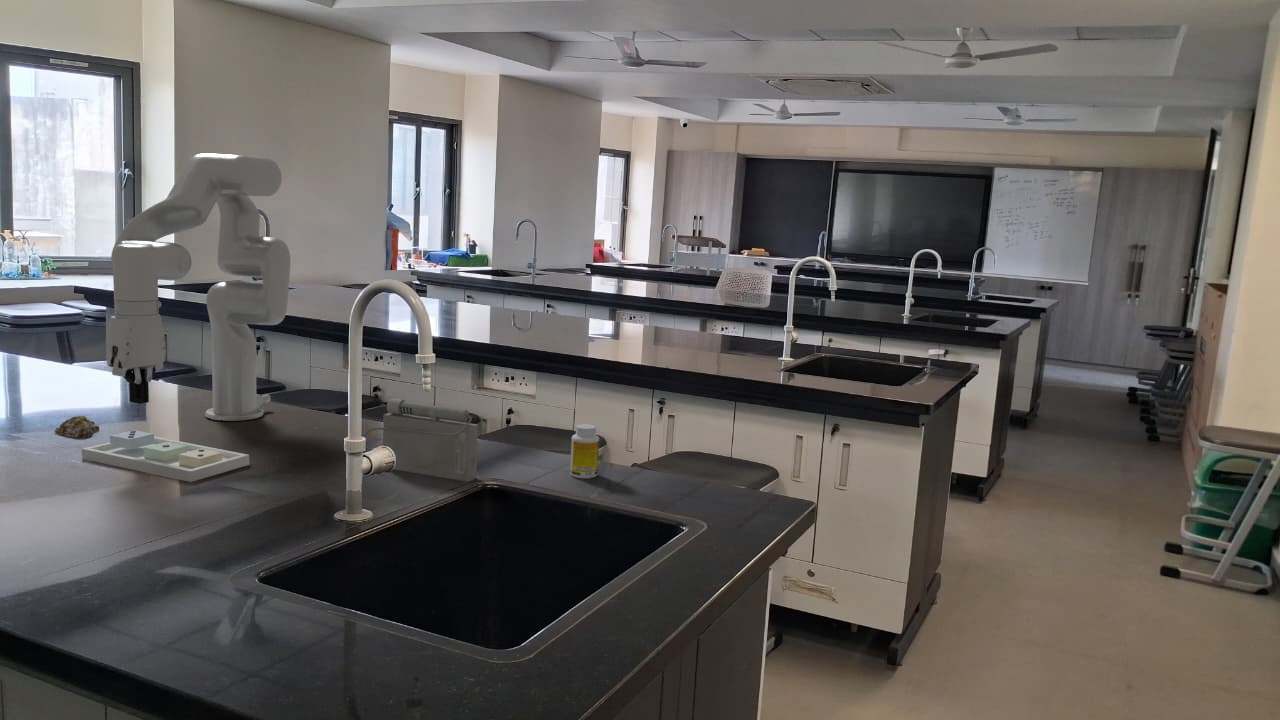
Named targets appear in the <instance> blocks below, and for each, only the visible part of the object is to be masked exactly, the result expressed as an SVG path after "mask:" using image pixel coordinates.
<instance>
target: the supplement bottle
mask: <svg viewBox="0 0 1280 720" xmlns="http://www.w3.org/2000/svg"><path fill="white" fill-rule="evenodd" d="M596 433H597V427H596V425H593V424H588V423H586V424H585V423H584V424H583V423H581V424H577V425H576V428H575V433H574V434H573V435H572V436H571V440H570V441H571V444H570V462H569V463H570V465H569V466H570V467H569V469H570V470H569V474H570V475H571V476H572V477H573V478H576V479H582V480H585V479H586V480H587V479H593V478H596V477H597V476H598V470H599V468H598V467H599V454H600V453H599V452H600V451H599V450H600V437H599V436H598V435H597V434H596Z"/></svg>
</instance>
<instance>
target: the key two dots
mask: <svg viewBox="0 0 1280 720" xmlns="http://www.w3.org/2000/svg"><path fill="white" fill-rule="evenodd" d="M222 460H223V452H218V451H213V450H208V449H203V448H201V449H197V450H193V451H189V452H185V453H181V454H179V465H184V466H188V467H193V468H197V467H201V466H205V465H208V464H212V463H215V462H219V461H222Z"/></svg>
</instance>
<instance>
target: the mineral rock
mask: <svg viewBox="0 0 1280 720" xmlns="http://www.w3.org/2000/svg"><path fill="white" fill-rule="evenodd" d="M99 430H100V425H97V424H96V423H95V422H94V421H91V420H90V419H88V417H86V416H85V415H78V416H72V417H70V418H69V419H65V421H64V422H62V423H61V424H60V425H59V427H56V428H55V429H54V433H55V434H59V436H64V437H66V438H77V439H79V438H83V439H85V438H89V437H93V436H94V433H96V432H99Z"/></svg>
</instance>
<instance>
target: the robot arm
mask: <svg viewBox="0 0 1280 720" xmlns="http://www.w3.org/2000/svg"><path fill="white" fill-rule="evenodd" d="M281 184H282V171H281V169H280V167H279V165H278V164H277V163H276V162H275V161H274V160H273V159H271V158H269V157H268V158H266V157H256V156H255V157H254V156H247V155H240V154H223V153H210V152H209V153H197V154H194V155H193V156H191V157H190V158H189V159H188V161H187V162H186V163H185V165H184V167H183V169H182V170H181V172H180V173H179V176H178V177H177V179H176V181H175V183H174V185H173V186H172V188H171V190H170V191H169V193H168V195H167V197H166V198H165V199H163V200H161V201H160V202H157V203H155V204H153V205H152V206H150V207H149V208H147V209H145V210H143V211H142V212H139V214H137V215H135V216H134V217H133V218H132V219H130V220H129V221H128V222H127V224H126V225H125V226H124V227H123V229H122V230H121V232H120V233H119V236H118V237H117V240H116V241H115V243H114V246H113V247H112V250H111V256H110V258H111V260H110V262H111V266H112V274H113V277H112V279H113V280H112V282H113V303H114V305H113V308H114V315H112V316H110V319H109V324H108V329H107V337H106V365H107V366H108V367H111V368H112V370H111V374H112V375H113V376H117V377H122V378H123V379H125V381H126V383H129V385H128V387H129V402H130V403H133V404H139V405H142V404H147V403H149V402H150V399H149V398H150V396H149V393H150V392H149V391H150V390H149V389H150V388H149V383H150V382H152V381H153V380H152V379H153V375H154V374H155V373H156V372H158V371H160V370H162V369H163V368H164V362H165V361H166V356H167V355H166V354H167V352H166V351H167V347H166V346H167V345H166V337H165V329H164V324H163V319H162V316H161V314H159V312H160V310H159V308H162V302H161V301H160V300H159V281H178V280H180V279H182V278H185V277H186V276H187V275H188V274H189V271H190V270H191V267H192V264H193V263H192V262H193V261H192V255H191V254H190V252H189V251H188V249H187V248H186V247H185V246H183V245H181V244H179V243H176V242H169V241H157V240H160V239H162V238H164V237H166V236H170V235H172V234H173V235H174V234H177V233H181V232H184V231H185V232H186V231H189V230H191V229H192V230H193V229H195V228H197V227H200V226H201V225H203V224H205V223H206V221H207V219H208V218H209V215H210V214H211V212H212V210H213V208H214V206H215V205H217V207H218V209H219V231H218V242H217V243H218V244H217V265H218V269H220V271H221V272H222V273H223V274H227V275H229V276H235V277H245V278H246V277H248V278H262V283H260V282H259V283H256V282H245V281H244V282H243V281H221V282H217V283H215V284H213V285H212V286H211V287H210V288H209V289H208V291H207V293H206V309H207V313H208V318H209V323H210V331H211V365H212V366H211V367H212V368H211V369H212V371H211V372H212V373H211V374H212V375H211V376H212V378H211V379H212V380H211V381H212V407H211V408H208V409H207V410H206V411H205V417H206V418H207V419H209V418H210V420H212V421H213V420H214V421H221V420H222V421H221V422H223V421H224V422H225V421H226V422H238V421H239V422H240V421H248V420H255V419H258V418H260V417H261V418H262V416H263V415H264V409H263V408H261V407H260V406H261V405H262V404H267V403H270V402H271V400H272V397H271V395H270V394H268V393H267V394H262V395H260V394H257V341H256V338H255V335H254V332H252V329H250V327H249V325H259V326H276V325H279V324H280V323H282V322H283V320H284V319H285V318H286V313H287V309H288V301H289V300H288V299H289V289H290V275H291V254H290V250H289V247H288V245H287V244H286V242H285V241H284V240H282V239H280V238H278V237H274V236H273V237H272V236H262V235H261V236H260V227H261V225H260V223H261V222H260V221H261V216H260V212H259V210H258V208H257V206H256V204H255V203H254V202H253V200H252V199H251V198H250V197H272V196H273V195H275V194H276V193H277V192H278V191H279V190H280V188H281Z"/></svg>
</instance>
